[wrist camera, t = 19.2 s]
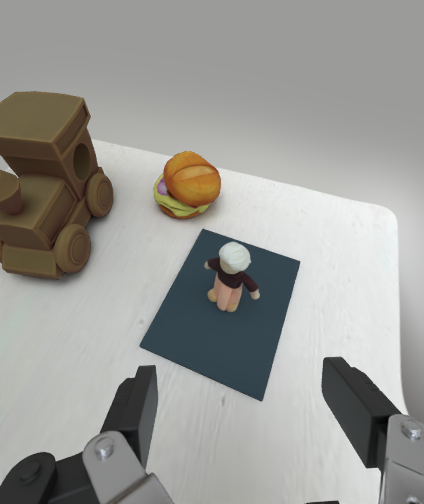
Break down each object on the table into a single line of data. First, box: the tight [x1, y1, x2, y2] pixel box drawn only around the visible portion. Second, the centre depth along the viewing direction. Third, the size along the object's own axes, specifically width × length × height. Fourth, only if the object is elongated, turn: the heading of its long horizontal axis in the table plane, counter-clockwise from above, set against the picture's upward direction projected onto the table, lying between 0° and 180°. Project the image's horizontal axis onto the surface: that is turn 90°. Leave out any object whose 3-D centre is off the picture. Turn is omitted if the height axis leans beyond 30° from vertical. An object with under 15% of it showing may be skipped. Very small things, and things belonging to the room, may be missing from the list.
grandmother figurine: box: [204, 242, 260, 312], centre depth 32 cm, size 8×4×13 cm, turn 65°
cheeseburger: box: [153, 151, 221, 219], centre depth 45 cm, size 10×11×10 cm
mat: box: [140, 229, 300, 401], centre depth 38 cm, size 16×20×1 cm
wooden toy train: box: [0, 91, 113, 279], centre depth 38 cm, size 20×11×17 cm, turn 172°
